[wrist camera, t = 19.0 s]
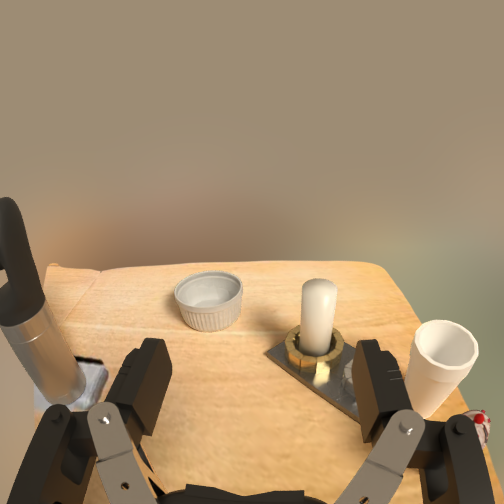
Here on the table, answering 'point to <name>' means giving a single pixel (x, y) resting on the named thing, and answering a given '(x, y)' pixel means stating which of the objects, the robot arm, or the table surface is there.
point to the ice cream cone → (480, 424)
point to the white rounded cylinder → (317, 317)
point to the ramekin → (209, 300)
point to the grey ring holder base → (321, 370)
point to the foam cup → (438, 363)
